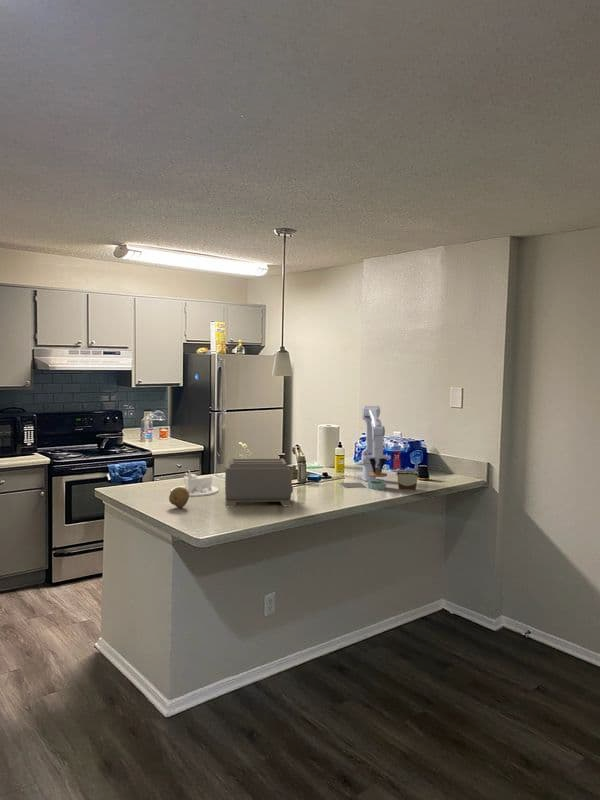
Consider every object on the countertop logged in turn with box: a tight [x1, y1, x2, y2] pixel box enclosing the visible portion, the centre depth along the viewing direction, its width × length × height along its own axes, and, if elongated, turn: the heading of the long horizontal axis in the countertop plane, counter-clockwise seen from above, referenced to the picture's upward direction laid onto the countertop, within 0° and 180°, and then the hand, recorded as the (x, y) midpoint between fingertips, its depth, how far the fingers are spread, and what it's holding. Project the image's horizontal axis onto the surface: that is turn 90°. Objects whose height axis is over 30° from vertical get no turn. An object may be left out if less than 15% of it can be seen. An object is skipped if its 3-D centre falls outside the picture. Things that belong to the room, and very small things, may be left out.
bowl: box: [367, 480, 387, 490], centre depth 347 cm, size 10×10×3 cm
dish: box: [170, 469, 219, 497], centre depth 329 cm, size 25×25×11 cm
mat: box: [339, 482, 367, 488], centre depth 352 cm, size 12×12×1 cm
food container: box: [396, 469, 420, 491], centre depth 346 cm, size 12×6×10 cm, turn 84°
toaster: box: [224, 458, 297, 508], centre depth 307 cm, size 19×35×20 cm, turn 97°
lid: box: [367, 466, 388, 478], centre depth 347 cm, size 11×11×4 cm
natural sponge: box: [168, 486, 190, 509], centre depth 292 cm, size 9×9×10 cm
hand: (377, 472), depth 347 cm, fingers closed on lid, 3 cm apart
